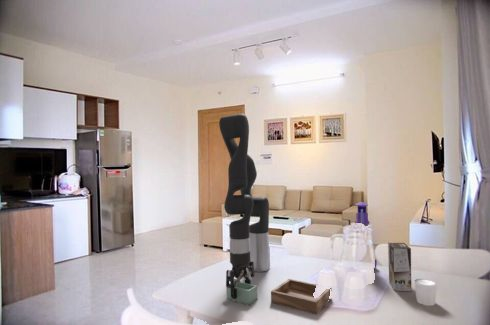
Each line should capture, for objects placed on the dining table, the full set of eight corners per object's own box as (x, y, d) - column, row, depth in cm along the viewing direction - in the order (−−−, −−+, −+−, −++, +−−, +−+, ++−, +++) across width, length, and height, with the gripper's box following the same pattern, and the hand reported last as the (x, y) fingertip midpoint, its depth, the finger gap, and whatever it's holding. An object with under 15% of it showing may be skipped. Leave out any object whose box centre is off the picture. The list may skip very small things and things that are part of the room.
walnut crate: (289, 289, 129) (289, 278, 129) (331, 298, 120) (331, 287, 120) (271, 302, 118) (270, 291, 118) (316, 314, 108) (316, 302, 108)
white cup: (410, 298, 118) (410, 278, 118) (429, 297, 119) (428, 277, 119) (422, 307, 111) (422, 286, 111) (442, 305, 112) (441, 285, 112)
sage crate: (235, 293, 126) (235, 280, 126) (257, 299, 121) (257, 285, 121) (226, 298, 122) (226, 285, 122) (249, 305, 116) (248, 290, 116)
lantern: (350, 262, 160) (349, 199, 159) (376, 264, 156) (375, 200, 155) (349, 271, 147) (347, 203, 147) (377, 273, 143) (376, 204, 143)
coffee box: (412, 291, 124) (411, 248, 124) (393, 290, 125) (393, 248, 125) (405, 282, 133) (404, 242, 132) (388, 281, 134) (387, 241, 134)
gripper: (243, 244, 129) (243, 285, 129) (219, 253, 117) (220, 298, 118) (259, 246, 125) (260, 289, 125) (236, 256, 113) (237, 303, 113)
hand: (241, 294), depth 121 cm, fingers open, 8 cm apart
